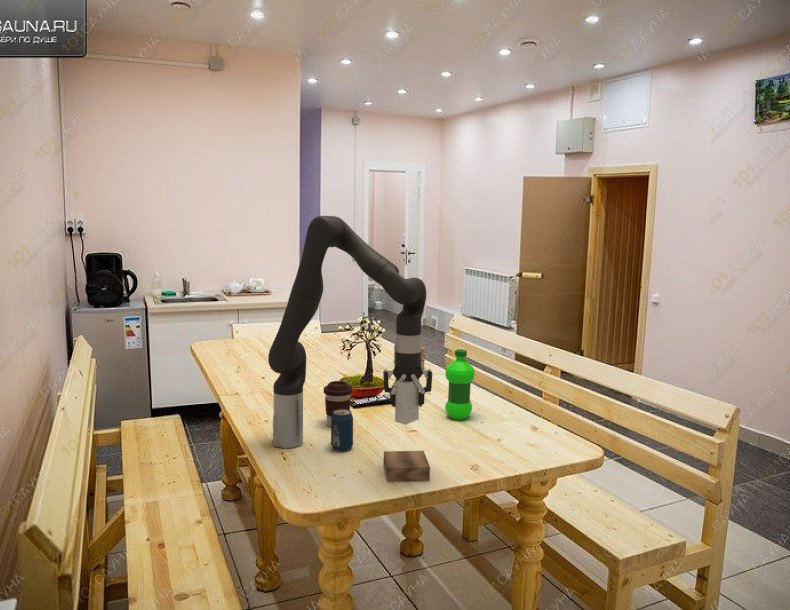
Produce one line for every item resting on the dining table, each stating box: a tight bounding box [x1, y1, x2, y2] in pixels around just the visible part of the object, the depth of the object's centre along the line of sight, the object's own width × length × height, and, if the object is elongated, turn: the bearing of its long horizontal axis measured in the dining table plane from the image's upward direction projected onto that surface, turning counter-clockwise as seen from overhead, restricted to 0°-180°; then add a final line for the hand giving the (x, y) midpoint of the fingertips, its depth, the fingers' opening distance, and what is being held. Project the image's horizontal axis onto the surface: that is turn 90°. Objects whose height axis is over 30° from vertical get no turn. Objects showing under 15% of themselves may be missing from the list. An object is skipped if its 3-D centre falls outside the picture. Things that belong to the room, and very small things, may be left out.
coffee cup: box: [323, 380, 353, 428], centre depth 219 cm, size 10×10×15 cm
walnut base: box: [382, 450, 431, 483], centre depth 183 cm, size 12×12×4 cm
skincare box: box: [394, 379, 420, 426], centre depth 179 cm, size 6×4×12 cm
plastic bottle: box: [444, 349, 476, 421], centre depth 229 cm, size 10×10×25 cm
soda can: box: [330, 409, 354, 453], centre depth 199 cm, size 7×7×12 cm
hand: (407, 405), depth 179 cm, fingers closed on skincare box, 7 cm apart
